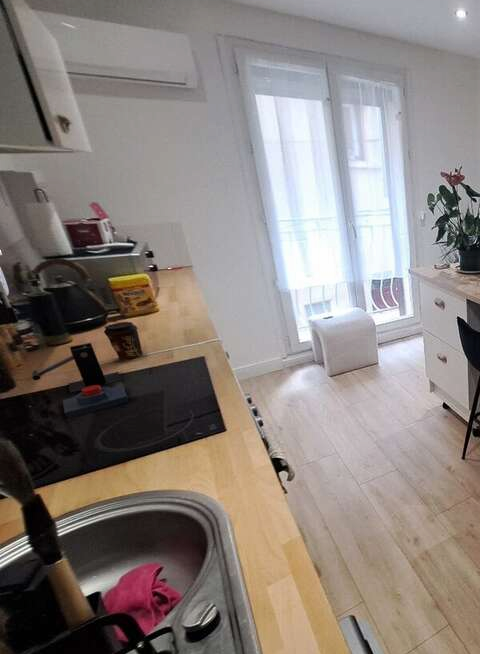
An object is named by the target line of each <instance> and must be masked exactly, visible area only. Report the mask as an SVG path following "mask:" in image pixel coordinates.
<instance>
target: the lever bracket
mask: <svg viewBox="0 0 480 654" xmlns="http://www.w3.org/2000/svg"><path fill="white" fill-rule="evenodd" d="M84 346H86V347H85V348H81V347H84ZM79 348H80V349H79ZM69 349H70V353H71V356H72V355H73V358H74V360H73V361H74V362H75V364H76V367H77V370H78V371H79V374H80V376H81V380H77V381H72V382H69V383H68V389H69V394H75V393H78V392H82V391H81V390H82V389H83V388H85V387H88V386H93V385H100V387H104V386H106V385H110V384H115V383H119V382H122V381H123V379H122V377H121V375H120V373H119V371H115V372H111V373H106V374H104V372H103V369H102V367H101V365H100V362H99V360H98V358H97V355H96V352H95V349H94V348H93V345H92V342H88V343H83V344H77V345H72V346H69Z"/></svg>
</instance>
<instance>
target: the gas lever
mask: <svg viewBox="0 0 480 654" xmlns="http://www.w3.org/2000/svg"><path fill="white" fill-rule="evenodd" d="M85 347H86V346H84V347H81V348H85ZM79 349H80V348H79ZM72 361H75V360H74V358H73V355H72V354H71V355H70V356H68V357H66V358H63V359H62V360H59V361H57V362H55V363H53V364H52V365H49V366H47V367H45V368H43V369H41V370H37V369H36V370H33V371H32V373H31V374H32V376H31V377H32V380H34V381H39V380H41V376H43V375H45V374H47V373H50V372H51V371H54V370H56V369H58V368H60V367H61V366H64V365H66V364H68V363H70V362H72Z"/></svg>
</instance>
